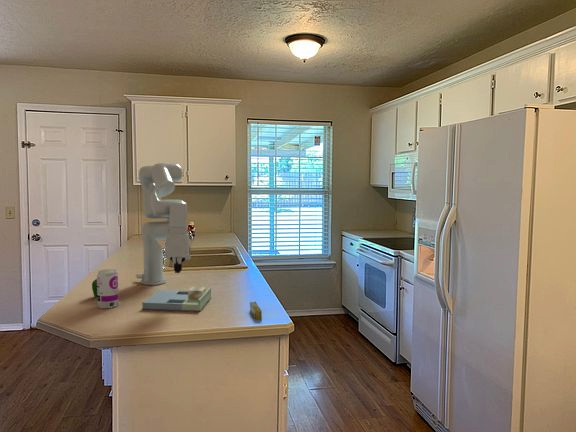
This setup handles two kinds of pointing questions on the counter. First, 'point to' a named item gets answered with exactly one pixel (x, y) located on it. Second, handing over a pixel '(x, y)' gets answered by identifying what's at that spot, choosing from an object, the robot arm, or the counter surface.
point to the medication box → (255, 311)
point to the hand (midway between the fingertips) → (177, 272)
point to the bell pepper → (94, 287)
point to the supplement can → (107, 288)
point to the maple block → (196, 293)
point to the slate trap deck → (175, 301)
